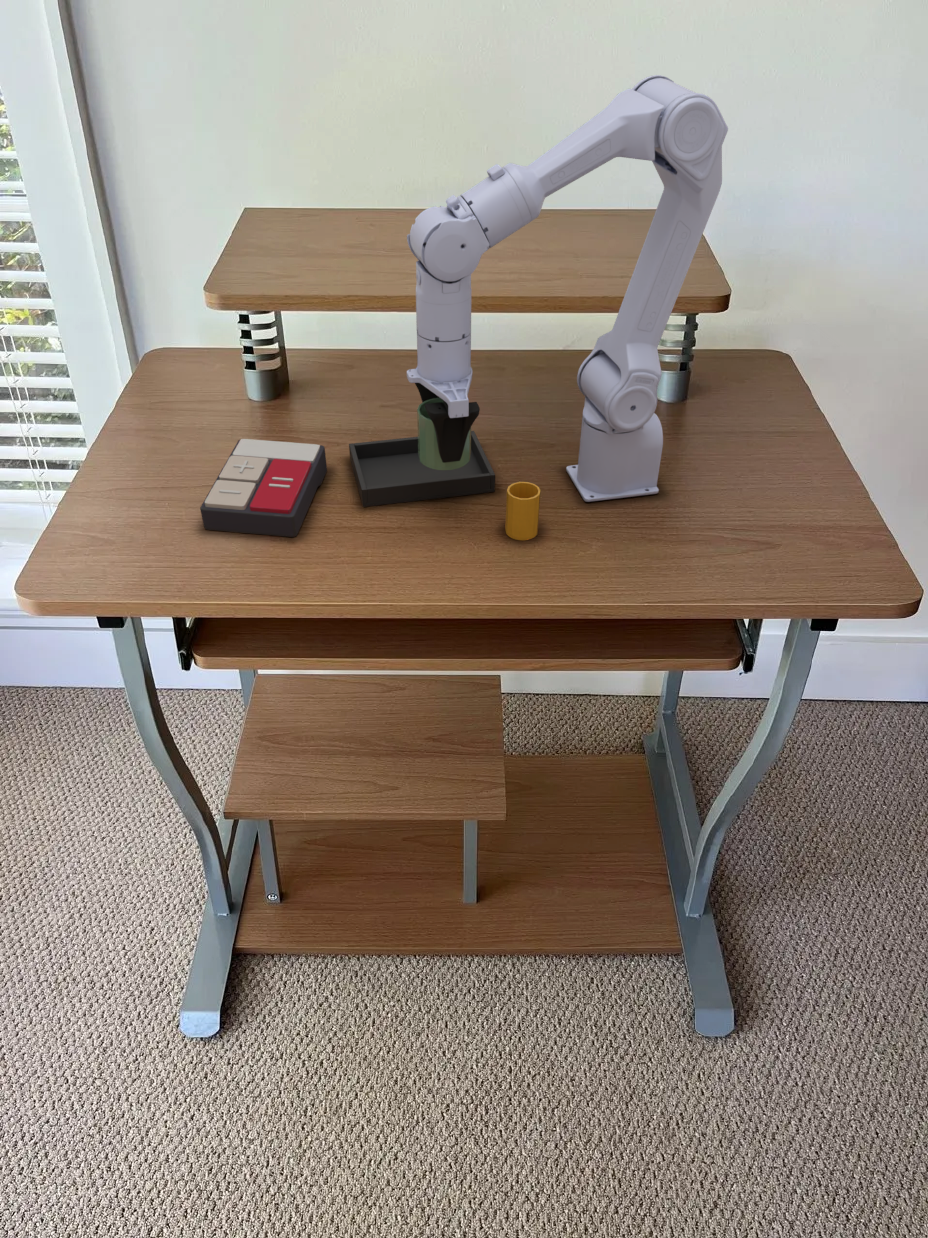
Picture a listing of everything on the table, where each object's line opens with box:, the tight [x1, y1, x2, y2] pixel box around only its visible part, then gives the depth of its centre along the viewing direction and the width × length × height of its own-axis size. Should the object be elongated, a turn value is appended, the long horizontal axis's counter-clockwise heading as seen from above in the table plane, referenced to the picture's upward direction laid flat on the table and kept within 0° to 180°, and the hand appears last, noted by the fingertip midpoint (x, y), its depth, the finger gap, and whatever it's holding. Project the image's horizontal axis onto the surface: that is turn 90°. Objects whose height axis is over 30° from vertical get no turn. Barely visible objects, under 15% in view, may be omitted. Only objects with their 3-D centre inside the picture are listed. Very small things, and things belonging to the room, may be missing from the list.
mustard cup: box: [504, 481, 542, 541], centre depth 112 cm, size 4×4×6 cm
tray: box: [348, 430, 496, 508], centre depth 122 cm, size 16×11×2 cm
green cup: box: [416, 397, 472, 470], centre depth 111 cm, size 6×6×6 cm
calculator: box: [199, 438, 328, 538], centre depth 117 cm, size 11×4×15 cm
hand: (444, 445), depth 112 cm, fingers closed on green cup, 6 cm apart
